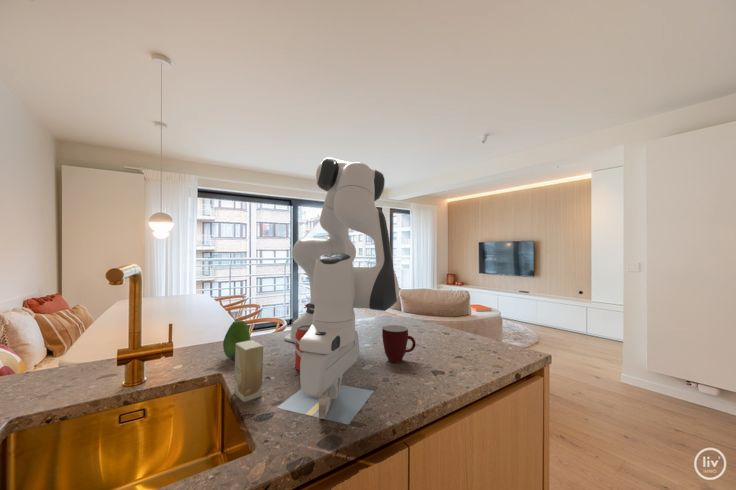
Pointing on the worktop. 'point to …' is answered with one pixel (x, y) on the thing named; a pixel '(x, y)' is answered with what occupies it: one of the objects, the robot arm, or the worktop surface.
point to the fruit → (235, 337)
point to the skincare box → (248, 370)
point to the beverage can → (298, 353)
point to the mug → (396, 342)
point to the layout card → (339, 409)
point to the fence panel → (324, 404)
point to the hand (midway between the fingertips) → (334, 397)
